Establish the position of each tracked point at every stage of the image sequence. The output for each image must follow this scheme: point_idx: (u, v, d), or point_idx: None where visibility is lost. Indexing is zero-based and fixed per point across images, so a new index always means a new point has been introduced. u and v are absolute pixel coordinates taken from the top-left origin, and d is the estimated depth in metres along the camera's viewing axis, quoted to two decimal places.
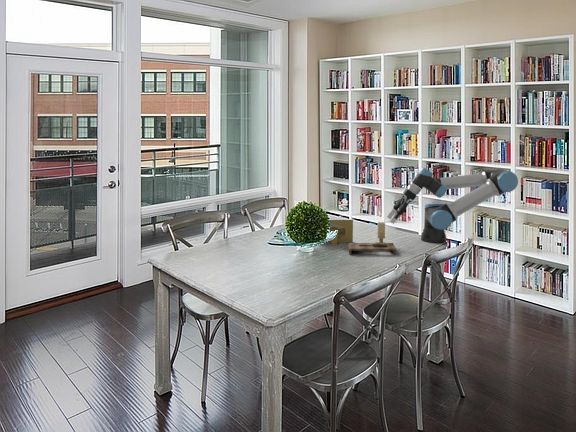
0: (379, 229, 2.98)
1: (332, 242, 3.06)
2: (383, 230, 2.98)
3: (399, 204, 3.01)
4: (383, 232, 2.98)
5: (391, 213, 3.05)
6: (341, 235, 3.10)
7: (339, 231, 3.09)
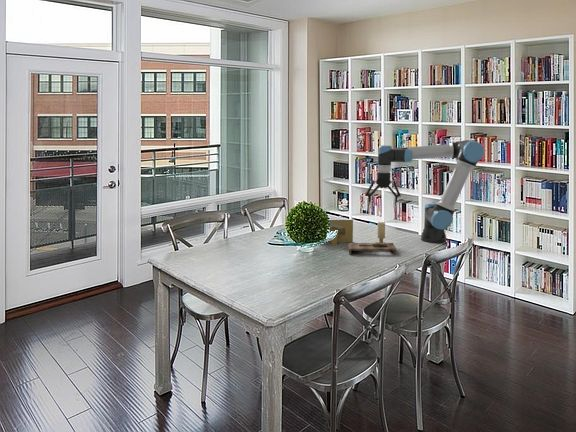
0: (379, 229, 2.98)
1: (332, 242, 3.06)
2: (383, 230, 2.98)
3: (376, 189, 2.96)
4: (383, 232, 2.98)
5: (371, 202, 2.97)
6: (341, 235, 3.10)
7: (339, 231, 3.09)
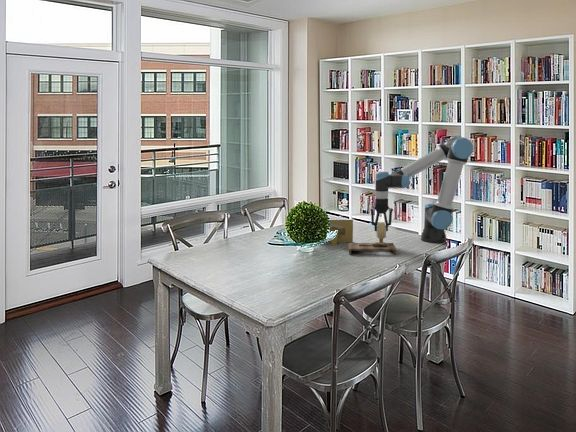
0: (379, 229, 2.98)
1: (332, 242, 3.06)
2: (383, 230, 2.98)
3: (378, 216, 2.98)
4: (383, 232, 2.98)
5: (377, 231, 3.00)
6: (341, 235, 3.10)
7: (339, 231, 3.09)
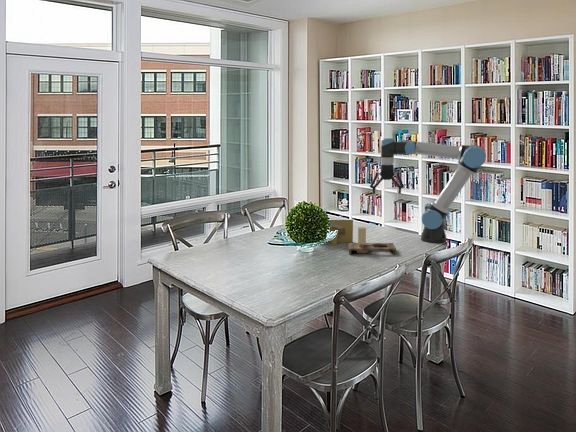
0: (360, 234, 2.85)
1: (332, 242, 3.06)
2: (364, 235, 2.85)
3: (380, 181, 3.03)
4: (364, 238, 2.85)
5: None
6: (341, 235, 3.10)
7: (339, 231, 3.09)
